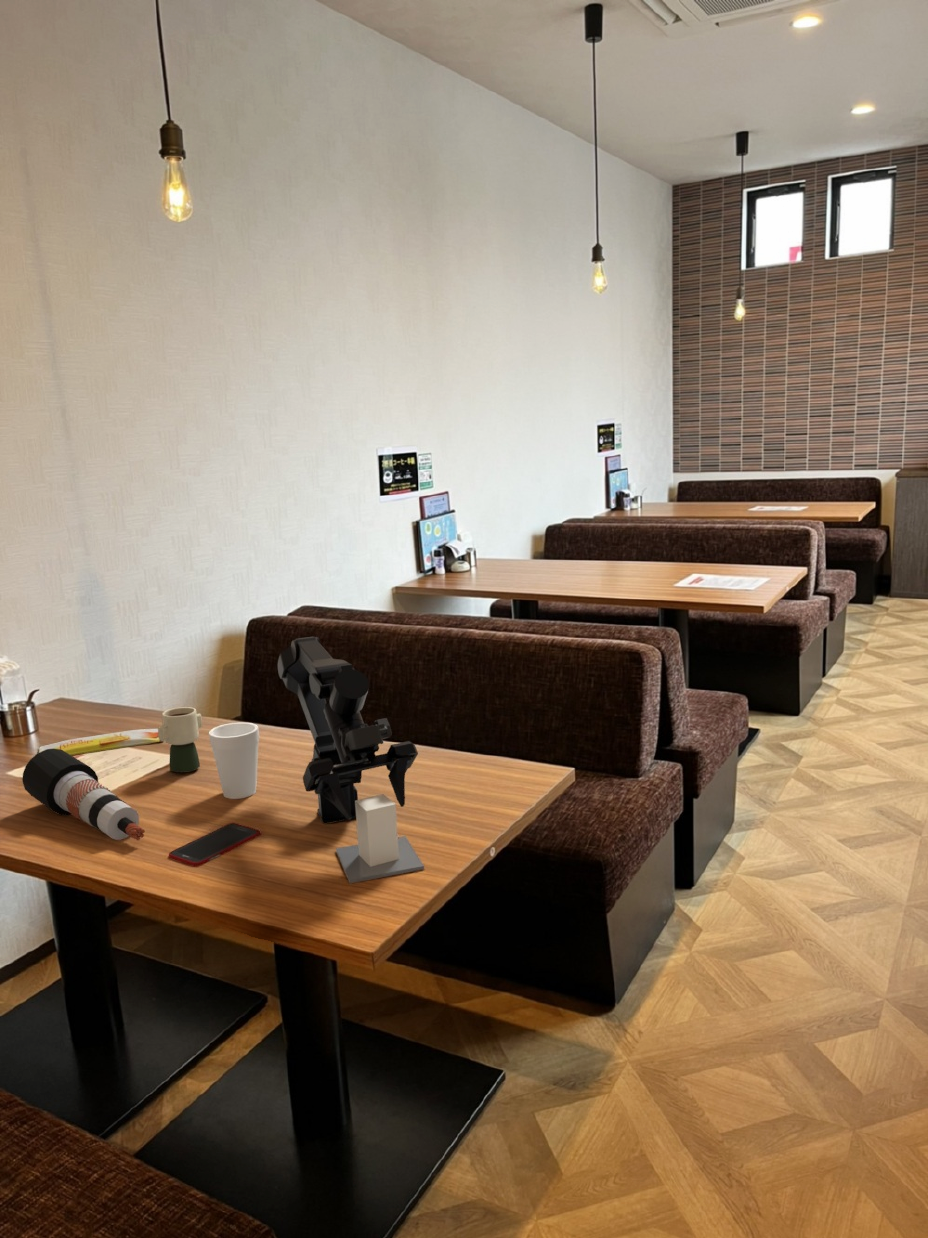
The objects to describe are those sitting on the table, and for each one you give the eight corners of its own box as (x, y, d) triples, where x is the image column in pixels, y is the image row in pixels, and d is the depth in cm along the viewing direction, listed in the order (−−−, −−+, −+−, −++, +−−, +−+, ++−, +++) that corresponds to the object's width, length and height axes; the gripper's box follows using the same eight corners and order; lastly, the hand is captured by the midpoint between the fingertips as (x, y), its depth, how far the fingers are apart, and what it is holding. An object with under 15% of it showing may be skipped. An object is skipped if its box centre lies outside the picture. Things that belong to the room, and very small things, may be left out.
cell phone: (263, 835, 165) (262, 830, 165) (197, 869, 153) (196, 864, 153) (233, 826, 169) (232, 821, 169) (166, 858, 157) (166, 853, 157)
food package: (36, 755, 207) (38, 742, 217) (37, 764, 208) (39, 751, 217) (164, 735, 217) (161, 723, 226) (165, 744, 218) (162, 732, 227)
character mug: (195, 759, 205) (189, 702, 202) (216, 765, 201) (210, 707, 198) (153, 775, 196) (146, 716, 193) (174, 781, 192) (167, 721, 189)
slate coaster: (349, 883, 145) (349, 879, 145) (336, 851, 156) (335, 848, 156) (424, 869, 149) (424, 865, 149) (405, 839, 160) (405, 836, 160)
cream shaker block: (358, 854, 153) (355, 800, 152) (386, 847, 156) (383, 793, 154) (370, 866, 149) (366, 811, 147) (399, 858, 151) (395, 804, 149)
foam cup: (273, 791, 184) (267, 728, 182) (232, 805, 178) (226, 740, 175) (246, 780, 191) (240, 719, 188) (206, 794, 184) (199, 731, 182)
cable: (129, 874, 162) (100, 836, 156) (40, 808, 183) (12, 773, 178) (174, 832, 167) (148, 794, 161) (82, 773, 189) (56, 738, 183)
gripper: (302, 714, 147) (331, 803, 140) (410, 694, 156) (442, 777, 148) (291, 748, 156) (318, 833, 148) (393, 727, 164) (424, 807, 157)
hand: (377, 812), depth 150 cm, fingers open, 9 cm apart
